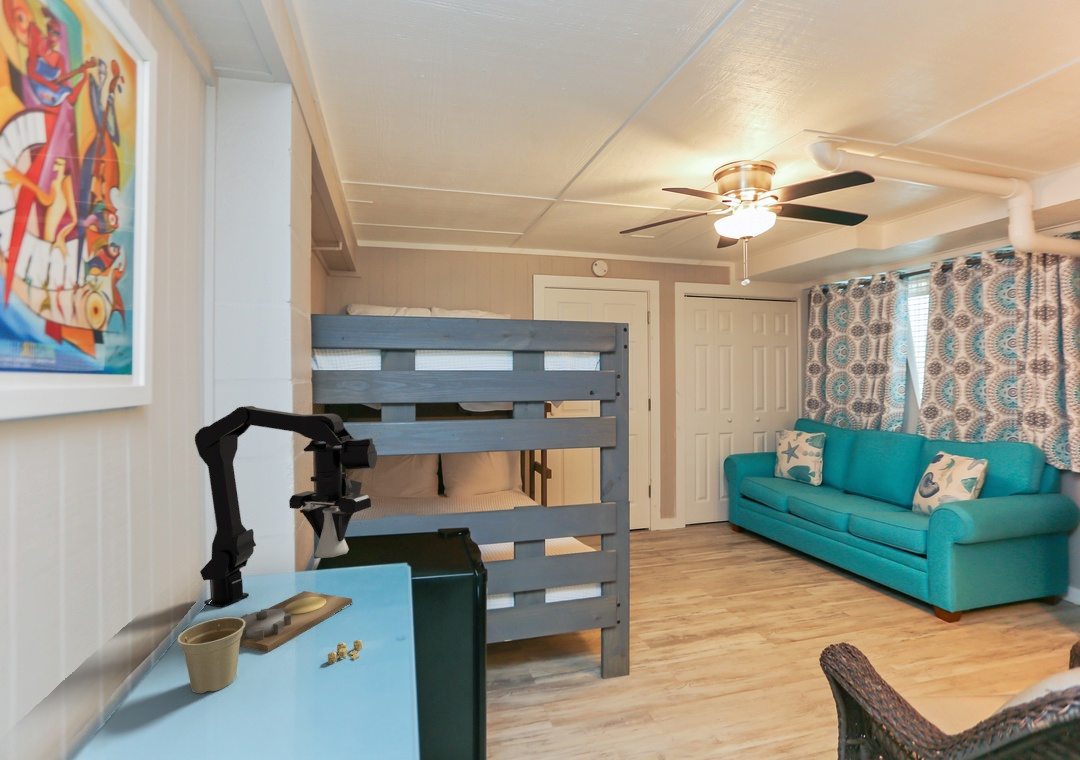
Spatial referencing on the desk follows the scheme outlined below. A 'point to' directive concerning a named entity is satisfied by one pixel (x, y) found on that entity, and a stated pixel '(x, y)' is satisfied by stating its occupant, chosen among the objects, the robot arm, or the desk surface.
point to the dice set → (345, 651)
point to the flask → (330, 538)
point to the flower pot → (212, 652)
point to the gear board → (298, 621)
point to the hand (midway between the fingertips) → (331, 539)
